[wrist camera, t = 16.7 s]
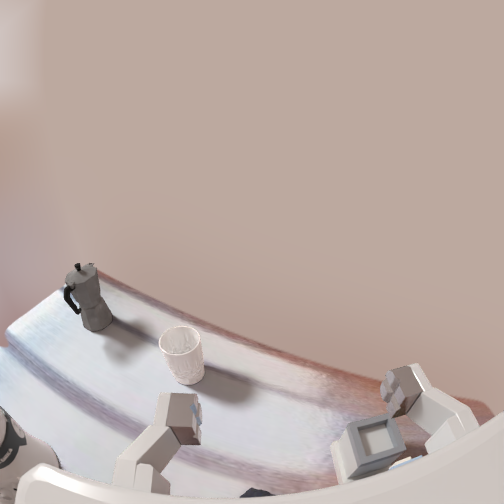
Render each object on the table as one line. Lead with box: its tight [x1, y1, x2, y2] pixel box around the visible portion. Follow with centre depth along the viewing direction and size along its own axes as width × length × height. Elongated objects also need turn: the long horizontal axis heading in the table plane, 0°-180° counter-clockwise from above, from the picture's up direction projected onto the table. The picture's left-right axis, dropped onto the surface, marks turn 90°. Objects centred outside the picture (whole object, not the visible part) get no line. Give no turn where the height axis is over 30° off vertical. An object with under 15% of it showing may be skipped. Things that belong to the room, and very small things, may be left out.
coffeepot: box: [64, 263, 112, 331], centre depth 62 cm, size 15×9×18 cm, turn 179°
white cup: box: [159, 326, 205, 385], centre depth 51 cm, size 8×8×10 cm
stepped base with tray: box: [330, 413, 406, 485], centre depth 27 cm, size 16×8×10 cm, turn 4°
